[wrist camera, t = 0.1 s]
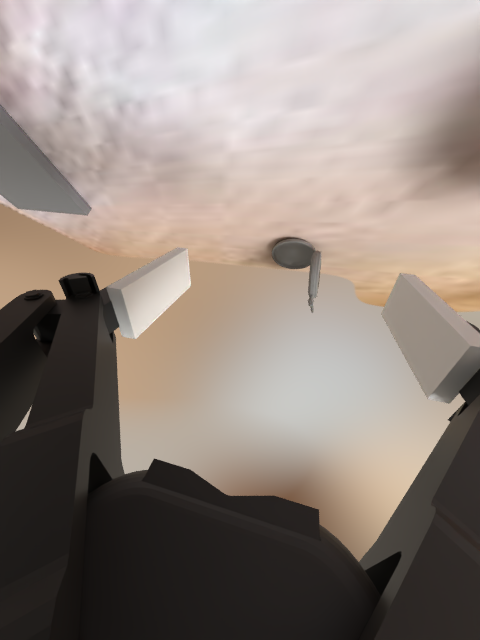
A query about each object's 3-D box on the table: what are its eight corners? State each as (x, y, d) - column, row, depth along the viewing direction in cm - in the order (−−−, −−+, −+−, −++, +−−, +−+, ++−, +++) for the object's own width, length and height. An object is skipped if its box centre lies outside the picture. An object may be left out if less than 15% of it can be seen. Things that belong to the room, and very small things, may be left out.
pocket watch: (264, 247, 35) (251, 303, 32) (310, 222, 29) (300, 290, 25) (295, 273, 39) (287, 324, 36) (341, 256, 33) (336, 317, 30)
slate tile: (-103, 96, 25) (-113, 104, 25) (-9, 94, 23) (-18, 103, 22) (22, 202, 38) (18, 208, 38) (91, 208, 36) (87, 215, 35)
